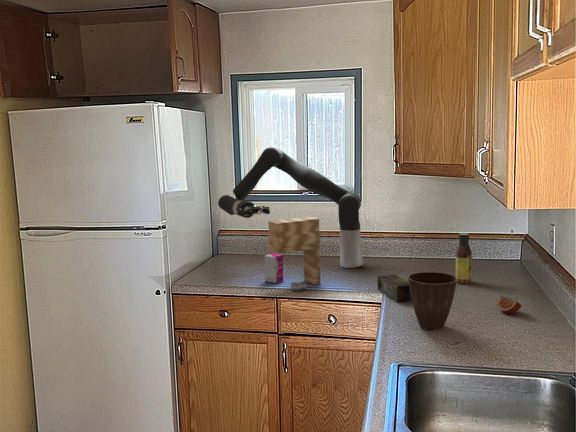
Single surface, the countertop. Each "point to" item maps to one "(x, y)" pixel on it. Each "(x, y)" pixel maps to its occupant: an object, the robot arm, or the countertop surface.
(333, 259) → the countertop surface
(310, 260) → the wooden l-shaped block
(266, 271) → the supplement box
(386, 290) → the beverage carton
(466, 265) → the sauce bottle
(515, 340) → the countertop surface
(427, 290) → the plant pot
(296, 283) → the dark gray cylinder
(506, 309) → the fruit slice
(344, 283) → the countertop surface
